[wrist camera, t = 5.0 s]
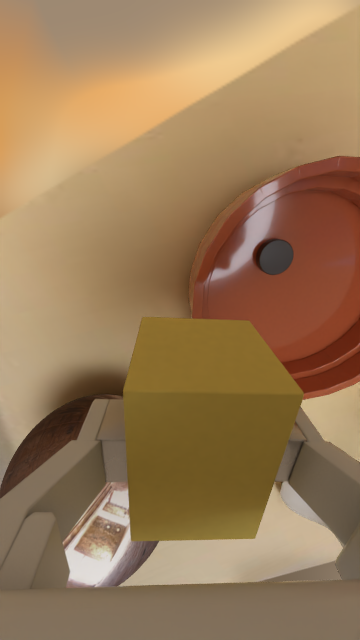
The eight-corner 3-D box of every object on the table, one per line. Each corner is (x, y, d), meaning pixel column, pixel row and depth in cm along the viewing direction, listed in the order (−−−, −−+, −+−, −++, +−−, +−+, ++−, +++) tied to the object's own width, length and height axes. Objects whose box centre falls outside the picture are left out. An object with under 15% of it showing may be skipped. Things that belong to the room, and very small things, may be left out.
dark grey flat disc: (258, 237, 20) (262, 238, 20) (292, 239, 21) (297, 240, 20) (252, 272, 22) (256, 274, 21) (284, 273, 22) (289, 275, 21)
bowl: (195, 163, 19) (204, 147, 14) (427, 177, 20) (504, 166, 15) (183, 368, 27) (186, 399, 22) (349, 370, 28) (385, 400, 23)
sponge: (142, 316, 9) (122, 390, 5) (249, 320, 9) (305, 393, 5) (143, 433, 11) (130, 542, 7) (227, 434, 11) (255, 539, 8)
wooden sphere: (194, 388, 28) (218, 555, 14) (150, 467, 33) (137, 644, 19) (66, 347, 25) (-61, 507, 11) (40, 441, 30) (-66, 627, 17)
